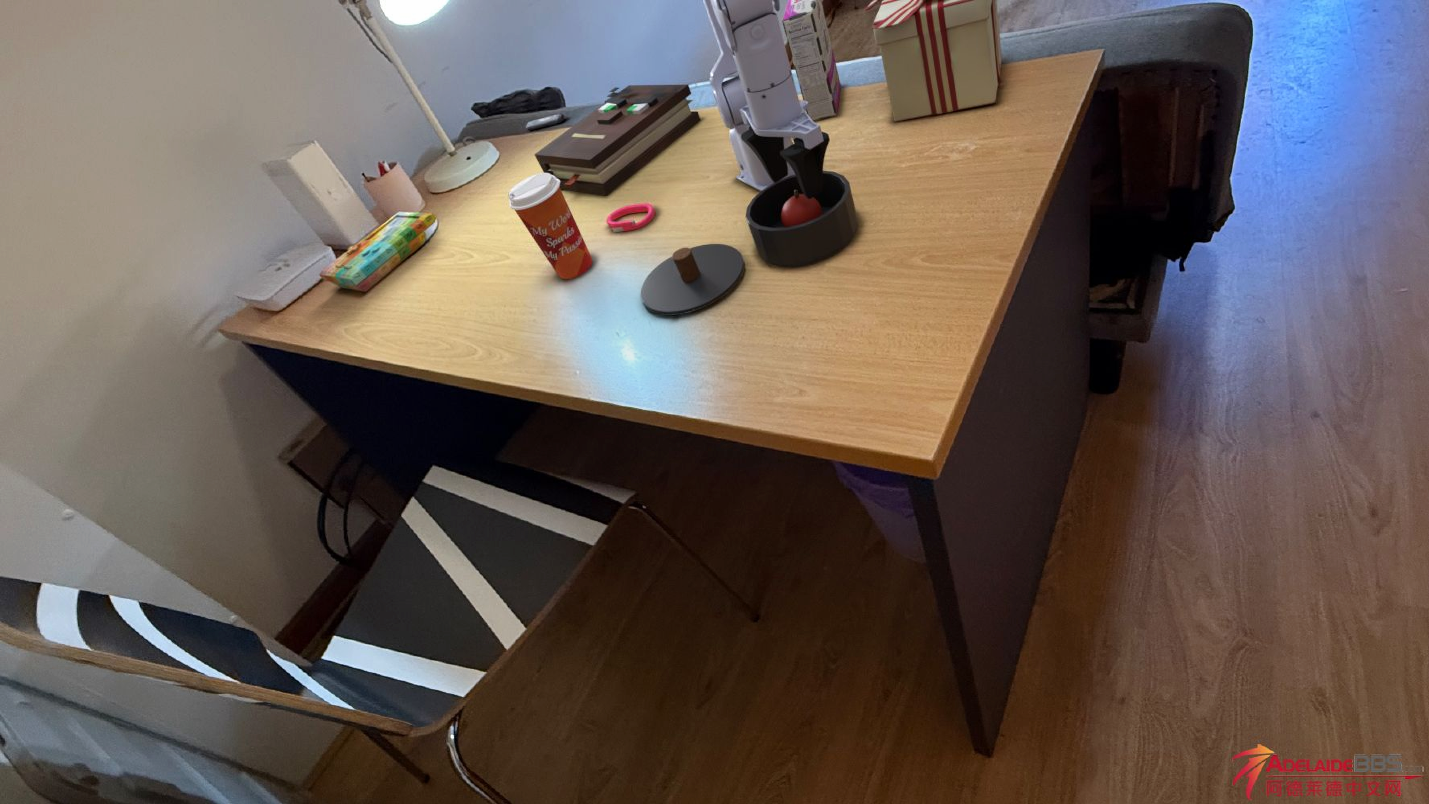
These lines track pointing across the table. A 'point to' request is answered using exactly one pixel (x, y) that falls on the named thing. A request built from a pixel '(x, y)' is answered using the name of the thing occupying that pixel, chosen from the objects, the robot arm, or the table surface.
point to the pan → (807, 238)
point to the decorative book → (618, 137)
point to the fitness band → (630, 223)
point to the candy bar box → (812, 57)
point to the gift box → (938, 54)
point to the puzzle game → (379, 251)
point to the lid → (692, 279)
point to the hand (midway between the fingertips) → (796, 186)
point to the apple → (800, 210)
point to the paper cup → (551, 224)
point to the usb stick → (545, 121)
